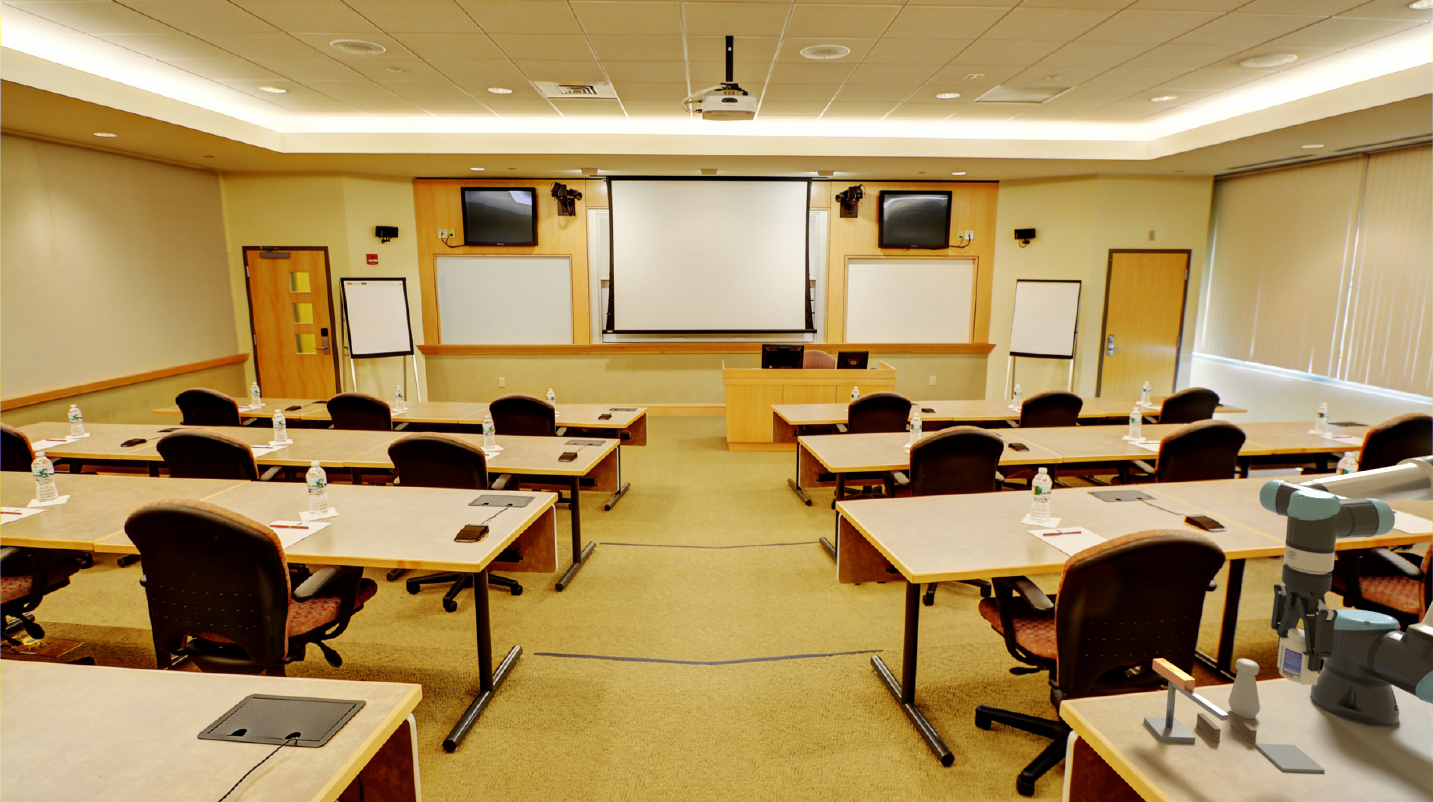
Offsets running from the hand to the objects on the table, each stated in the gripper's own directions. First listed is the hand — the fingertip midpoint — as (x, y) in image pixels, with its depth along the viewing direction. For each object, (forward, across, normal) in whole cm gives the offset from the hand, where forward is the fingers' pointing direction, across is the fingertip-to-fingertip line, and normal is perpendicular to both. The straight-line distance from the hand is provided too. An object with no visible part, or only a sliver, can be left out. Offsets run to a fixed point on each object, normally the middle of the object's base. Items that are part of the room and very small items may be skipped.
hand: (1296, 675), depth 139 cm
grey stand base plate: (+19, -8, -20) cm, 28 cm away
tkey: (+17, -3, -19) cm, 26 cm away
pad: (+19, 0, 0) cm, 19 cm away
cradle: (+19, -8, -8) cm, 22 cm away
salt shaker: (+19, -16, +2) cm, 25 cm away
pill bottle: (+1, 0, 0) cm, 1 cm away
